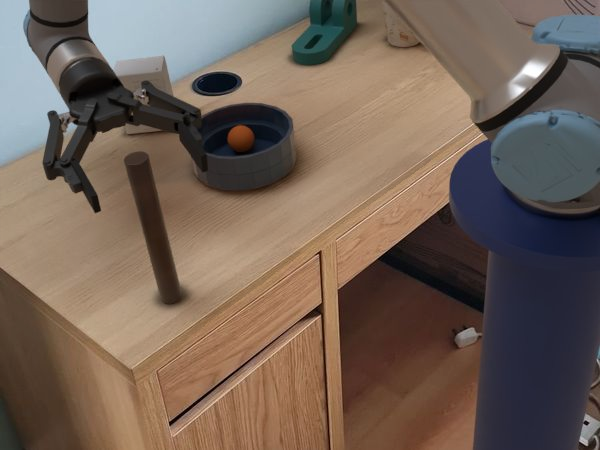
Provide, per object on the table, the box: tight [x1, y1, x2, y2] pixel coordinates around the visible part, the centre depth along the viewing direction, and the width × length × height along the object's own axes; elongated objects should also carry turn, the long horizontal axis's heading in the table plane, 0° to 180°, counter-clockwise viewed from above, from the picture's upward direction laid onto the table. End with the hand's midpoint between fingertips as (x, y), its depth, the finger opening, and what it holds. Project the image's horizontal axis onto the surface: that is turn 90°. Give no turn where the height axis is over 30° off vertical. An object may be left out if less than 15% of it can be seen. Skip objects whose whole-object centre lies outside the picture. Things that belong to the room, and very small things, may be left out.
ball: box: [228, 125, 254, 152], centre depth 117 cm, size 4×4×4 cm
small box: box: [112, 55, 175, 135], centre depth 125 cm, size 8×6×10 cm
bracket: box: [291, 0, 358, 66], centre depth 144 cm, size 18×7×8 cm, turn 156°
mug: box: [381, 0, 421, 48], centre depth 140 cm, size 8×13×10 cm, turn 36°
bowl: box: [190, 102, 298, 192], centre depth 115 cm, size 15×15×6 cm
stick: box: [123, 150, 183, 305], centre depth 89 cm, size 3×3×20 cm
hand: (152, 183), depth 92 cm, fingers open, 13 cm apart
